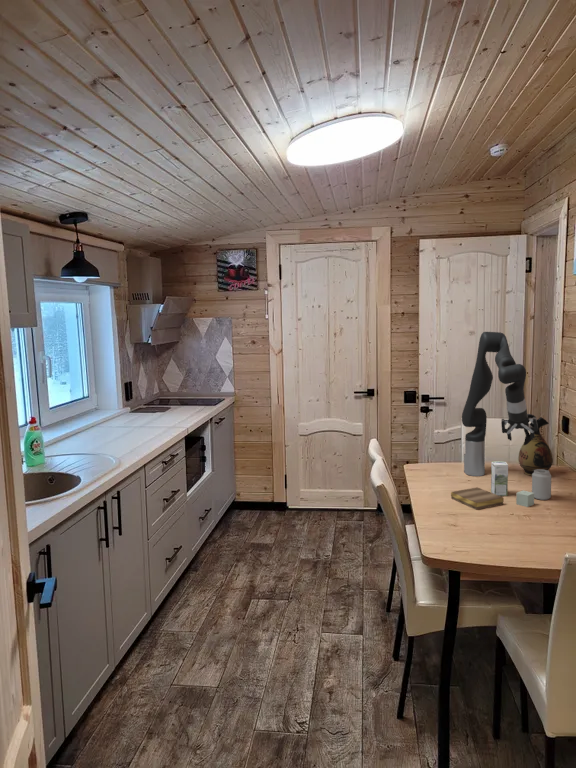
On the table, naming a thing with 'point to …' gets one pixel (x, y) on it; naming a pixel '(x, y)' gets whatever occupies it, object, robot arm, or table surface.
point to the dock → (477, 498)
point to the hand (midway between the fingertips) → (521, 439)
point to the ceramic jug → (535, 450)
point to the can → (541, 484)
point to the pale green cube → (525, 498)
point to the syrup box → (499, 478)
